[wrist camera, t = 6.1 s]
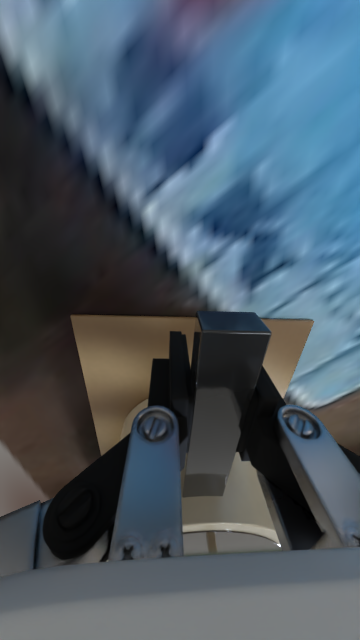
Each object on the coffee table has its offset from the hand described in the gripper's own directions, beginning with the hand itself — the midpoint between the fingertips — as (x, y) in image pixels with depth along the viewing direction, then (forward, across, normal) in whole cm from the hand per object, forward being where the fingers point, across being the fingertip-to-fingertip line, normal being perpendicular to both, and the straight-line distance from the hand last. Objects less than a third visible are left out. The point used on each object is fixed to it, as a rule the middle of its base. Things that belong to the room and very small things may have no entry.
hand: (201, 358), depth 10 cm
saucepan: (+2, 0, +5) cm, 6 cm away
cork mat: (+3, 0, +8) cm, 8 cm away
